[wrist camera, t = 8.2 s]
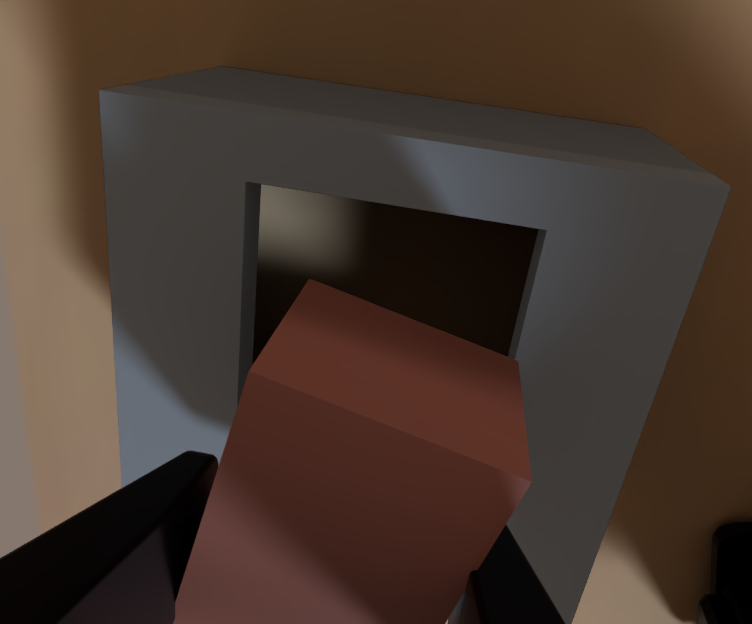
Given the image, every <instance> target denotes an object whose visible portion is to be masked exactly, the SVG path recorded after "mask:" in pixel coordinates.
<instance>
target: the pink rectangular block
mask: <svg viewBox="0 0 752 624" xmlns="http://www.w3.org/2000/svg"><path fill="white" fill-rule="evenodd" d="M531 483H532V478H531V469H530V460H529V451H528V442H527V433H526V425H525V416H524V407H523V398H522V389H521V380H520V371H519V362H518V361H517V360H515V359H512V358H509V357H507V356H504V355H502V354H499V353H497V352H494V351H492V350H489V349H487V348H484V347H482V346H479V345H477V344H474V343H471V342H469V341H466V340H464V339H461V338H459V337H456V336H454V335H451V334H449V333H446V332H444V331H441V330H439V329H436V328H434V327H431V326H428V325H426V324H423V323H421V322H418V321H416V320H413V319H411V318H408V317H406V316H403V315H401V314H398V313H396V312H393V311H391V310H388V309H385V308H383V307H380V306H378V305H375V304H373V303H370V302H368V301H365V300H363V299H360V298H358V297H355V296H353V295H350V294H347V293H345V292H342V291H340V290H337V289H335V288H332V287H330V286H327V285H325V284H322V283H320V282H317V281H315V280H312V279H310V278H309V280H308V281H307V283H306V284H305V286H304V287H303V289H302V290H301V292H300V294H299V295H298V297H297V298H296V300H295V301H294V303H293V304H292V306H291V307H290V309H289V310H288V312H287V313H286V315H285V316H284V318H283V320H282V321H281V323H280V324H279V326H278V327H277V329H276V330H275V332H274V333H273V335H272V336H271V338H270V339H269V341H268V342H267V344H266V346H265V347H264V349H263V350H262V352H261V353H260V355H259V356H258V358H257V359H256V361H255V362H254V364H253V365H252V367H251V368H250V370H249V372H248V375H247V378H246V382H245V385H244V388H243V391H242V394H241V397H240V400H239V404H238V407H237V410H236V413H235V416H234V419H233V422H232V426H231V429H230V432H229V435H228V438H227V441H226V445H225V448H224V451H223V454H222V457H221V460H220V463H219V467H218V470H217V473H216V476H215V479H214V482H213V485H212V489H211V492H210V495H209V498H208V501H207V504H206V507H205V511H204V514H203V517H202V520H201V523H200V526H199V529H198V533H197V536H196V539H195V542H194V545H193V548H192V552H191V555H190V558H189V561H188V564H187V567H186V570H185V574H184V577H183V580H182V583H181V586H180V589H179V592H178V596H177V599H176V602H175V620H174V623H173V624H445V623H446V621H447V619H448V618H449V616H450V614H451V613H452V611H453V610H454V608H455V606H456V605H457V603H458V601H459V600H460V598H461V597H462V595H463V593H464V592H465V589H466V585H467V581H468V577H469V574H470V572H471V571H473V570H478V569H479V567H480V566H481V564H482V562H483V561H484V559H485V557H486V556H487V554H488V553H489V551H490V549H491V548H492V546H493V544H494V543H495V541H496V540H497V538H498V536H499V535H500V533H501V531H502V530H503V528H504V527H505V525H506V523H507V522H508V520H509V518H510V517H511V515H512V514H513V512H514V510H515V509H516V507H517V505H518V504H519V502H520V500H521V499H522V497H523V496H524V494H525V492H526V491H527V489H528V487H529V486H530V484H531Z"/></svg>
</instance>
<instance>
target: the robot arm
mask: <svg viewBox="0 0 752 624" xmlns="http://www.w3.org/2000/svg"><path fill="white" fill-rule="evenodd" d="M218 467H219V466H218V460H217V458H216V457H215V456H214V455H213V454H208V453H203V452H197V451H186V452H183V453H182V454H180V455H178V456H176V457H175V458H173V459H171V460H170V461H168V462H166V463H164V464H163V465H161V466H159V467H157V468H156V469H154V470H152V471H150V472H149V473H147V474H145V475H144V476H142V477H140V478H138V479H137V480H135V481H133V482H131V483H130V484H128V485H126V486H124V487H123V488H121V489H119V490H118V491H116V492H114V493H112V494H111V495H109V496H107V497H105V498H104V499H102V500H100V501H98V502H97V503H95V504H93V505H92V506H90V507H88V508H86V509H85V510H83V511H81V512H79V513H78V514H76V515H74V516H72V517H71V518H69V519H67V520H66V521H64V522H62V523H60V524H59V525H57V526H55V527H53V528H52V529H50V530H48V531H46V532H45V533H43V534H41V535H40V536H38V537H36V538H34V539H33V540H31V541H30V542H27V543H26V544H24V545H22V546H21V547H19V548H17V549H15V550H14V551H12V552H10V553H9V554H7V555H5V556H3V557H1V558H0V624H173V623H174V620H175V602H176V599H177V596H178V592H179V589H180V586H181V583H182V580H183V577H184V574H185V570H186V567H187V564H188V561H189V558H190V555H191V552H192V548H193V545H194V542H195V539H196V536H197V533H198V529H199V526H200V523H201V520H202V517H203V514H204V511H205V507H206V504H207V501H208V498H209V495H210V492H211V489H212V485H213V482H214V479H215V476H216V473H217V470H218ZM738 541H740V542H741V543H739V544H737V545H731V544H732V543H734V542H738ZM448 624H566V623H565V622H564V620H563V618H562V617H561V615H560V613H559V612H558V610H557V608H556V607H555V605H554V603H553V602H552V600H551V598H550V597H549V595H548V593H547V592H546V590H545V588H544V587H543V585H542V583H541V581H540V580H539V578H538V576H537V575H536V573H535V571H534V570H533V568H532V566H531V565H530V563H529V561H528V560H527V558H526V556H525V555H524V553H523V551H522V550H521V548H520V546H519V545H518V543H517V541H516V540H515V538H514V536H513V535H512V533H511V531H510V530H509V528H508V526H507V525H505V527H504V528H503V530H502V531H501V533H500V535H499V536H498V538H497V540H496V541H495V543H494V544H493V546H492V548H491V549H490V551H489V553H488V554H487V556H486V557H485V559H484V561H483V562H482V564H481V566H480V567H479V569H478V570H473V571H471V572H470V574H469V577H468V581H467V585H466V589H465V592H464V593H463V595H462V597H461V598H460V600H459V601H458V603H457V605H456V606H455V608H454V610H453V611H452V613H451V614H450V616H449V618H448ZM698 624H752V522H742V523H730V524H725V525H723V526H721V527H719V528H718V529H717V530H716V531H715V532H714V535H713V538H712V560H711V584H710V594H705V595H704V596H703V597H702V599H701V600H700V601H699V606H698Z"/></svg>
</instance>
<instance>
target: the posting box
mask: <svg viewBox="0 0 752 624" xmlns="http://www.w3.org/2000/svg"><path fill="white" fill-rule="evenodd" d="M99 102H100V119H101V136H102V153H103V170H104V187H105V205H106V222H107V239H108V256H109V273H110V290H111V307H112V325H113V342H114V359H115V376H116V393H117V410H118V428H119V445H120V462H121V479H122V488H123V487H124V486H126V485H128V484H130V483H131V482H133V481H135V480H137V479H138V478H140V477H142V476H144V475H145V474H147V473H149V472H150V471H152V470H154V469H156V468H157V467H159V466H161V465H163V464H164V463H166V462H168V461H170V460H171V459H173V458H175V457H176V456H178V455H180V454H182V453H183V452H186V451H197V452H203V453H208V454H213V455H214V456H215V457H216V458H217V460H218V466H219V463H220V460H221V457H222V454H223V451H224V448H225V445H226V441H227V438H228V435H229V432H230V429H231V426H232V422H233V419H234V416H235V413H236V410H237V407H238V404H239V400H240V397H241V394H242V391H243V388H244V385H245V382H246V378H247V375H248V372H249V370H250V368H251V367H252V363H253V342H254V321H255V300H256V279H257V258H258V237H259V216H260V195H261V184H264V185H271V186H277V187H283V188H289V189H295V190H302V191H308V192H314V193H320V194H326V195H333V196H339V197H345V198H351V199H357V200H363V201H370V202H376V203H382V204H388V205H394V206H401V207H407V208H413V209H419V210H425V211H432V212H438V213H444V214H450V215H456V216H463V217H469V218H475V219H481V220H487V221H493V222H500V223H506V224H512V225H518V226H524V227H531V228H537V229H539V230H538V234H537V238H536V242H535V246H534V250H533V254H532V258H531V263H530V267H529V271H528V275H527V279H526V283H525V287H524V291H523V296H522V300H521V304H520V308H519V312H518V316H517V320H516V324H515V328H514V333H513V337H512V341H511V345H510V349H509V353H508V357H509V358H512V359H515V360H517V361H518V362H519V371H520V380H521V389H522V398H523V407H524V416H525V425H526V433H527V442H528V451H529V460H530V469H531V478H532V483H531V484H530V486H529V487H528V489H527V491H526V492H525V494H524V496H523V497H522V499H521V500H520V502H519V504H518V505H517V507H516V509H515V510H514V512H513V514H512V515H511V517H510V518H509V520H508V522H507V523H506V525H507V526H508V528H509V530H510V531H511V533H512V535H513V536H514V538H515V540H516V541H517V543H518V545H519V546H520V548H521V550H522V551H523V553H524V555H525V556H526V558H527V560H528V561H529V563H530V565H531V566H532V568H533V570H534V571H535V573H536V575H537V576H538V578H539V580H540V581H541V583H542V585H543V587H544V588H545V590H546V592H547V593H548V595H549V597H550V598H551V600H552V602H553V603H554V605H555V607H556V608H557V610H558V612H559V613H560V615H561V617H562V618H563V620H564V622H565V623H566V624H571V623H572V621H573V618H574V615H575V613H576V610H577V607H578V604H579V602H580V599H581V596H582V593H583V591H584V588H585V585H586V583H587V580H588V577H589V574H590V572H591V569H592V566H593V563H594V561H595V558H596V555H597V553H598V550H599V547H600V544H601V542H602V539H603V536H604V533H605V531H606V528H607V525H608V523H609V520H610V517H611V514H612V512H613V509H614V506H615V503H616V501H617V498H618V495H619V493H620V490H621V487H622V484H623V482H624V479H625V476H626V473H627V471H628V468H629V465H630V463H631V460H632V457H633V454H634V452H635V449H636V446H637V443H638V441H639V438H640V435H641V433H642V430H643V427H644V424H645V422H646V419H647V416H648V413H649V411H650V408H651V405H652V403H653V400H654V397H655V394H656V392H657V389H658V386H659V383H660V381H661V378H662V375H663V373H664V370H665V367H666V364H667V362H668V359H669V356H670V353H671V351H672V348H673V345H674V343H675V340H676V337H677V334H678V332H679V329H680V326H681V323H682V321H683V318H684V315H685V313H686V310H687V307H688V304H689V302H690V299H691V296H692V294H693V291H694V288H695V285H696V283H697V280H698V277H699V274H700V272H701V269H702V266H703V264H704V261H705V258H706V255H707V253H708V250H709V247H710V244H711V242H712V239H713V236H714V234H715V231H716V228H717V225H718V223H719V220H720V217H721V214H722V212H723V209H724V206H725V204H726V201H727V198H728V195H729V193H730V190H731V186H730V185H728V184H727V183H725V182H724V181H722V180H721V179H719V178H718V177H716V176H715V175H713V174H712V173H710V172H709V171H707V170H706V169H704V168H703V167H701V166H700V165H698V164H697V163H695V162H694V161H692V160H691V159H689V158H688V157H686V156H685V155H683V154H682V153H680V152H679V151H677V150H676V149H675V148H673V147H672V146H670V145H669V144H667V143H666V142H664V141H663V140H661V139H660V138H658V137H657V136H655V135H654V134H652V133H651V132H649V131H648V130H646V129H642V128H636V127H629V126H622V125H615V124H609V123H602V122H595V121H588V120H582V119H575V118H568V117H561V116H555V115H548V114H541V113H534V112H527V111H521V110H514V109H507V108H500V107H494V106H487V105H480V104H473V103H467V102H460V101H453V100H446V99H440V98H433V97H426V96H419V95H412V94H406V93H399V92H392V91H385V90H379V89H372V88H365V87H358V86H352V85H345V84H338V83H331V82H325V81H318V80H311V79H304V78H298V77H291V76H284V75H277V74H270V73H264V72H257V71H250V70H243V69H237V68H230V67H223V66H220V67H215V68H210V69H205V70H200V71H194V72H189V73H184V74H179V75H174V76H168V77H163V78H158V79H153V80H148V81H143V82H137V83H132V84H127V85H122V86H117V87H111V88H106V89H101V90H99Z"/></svg>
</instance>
